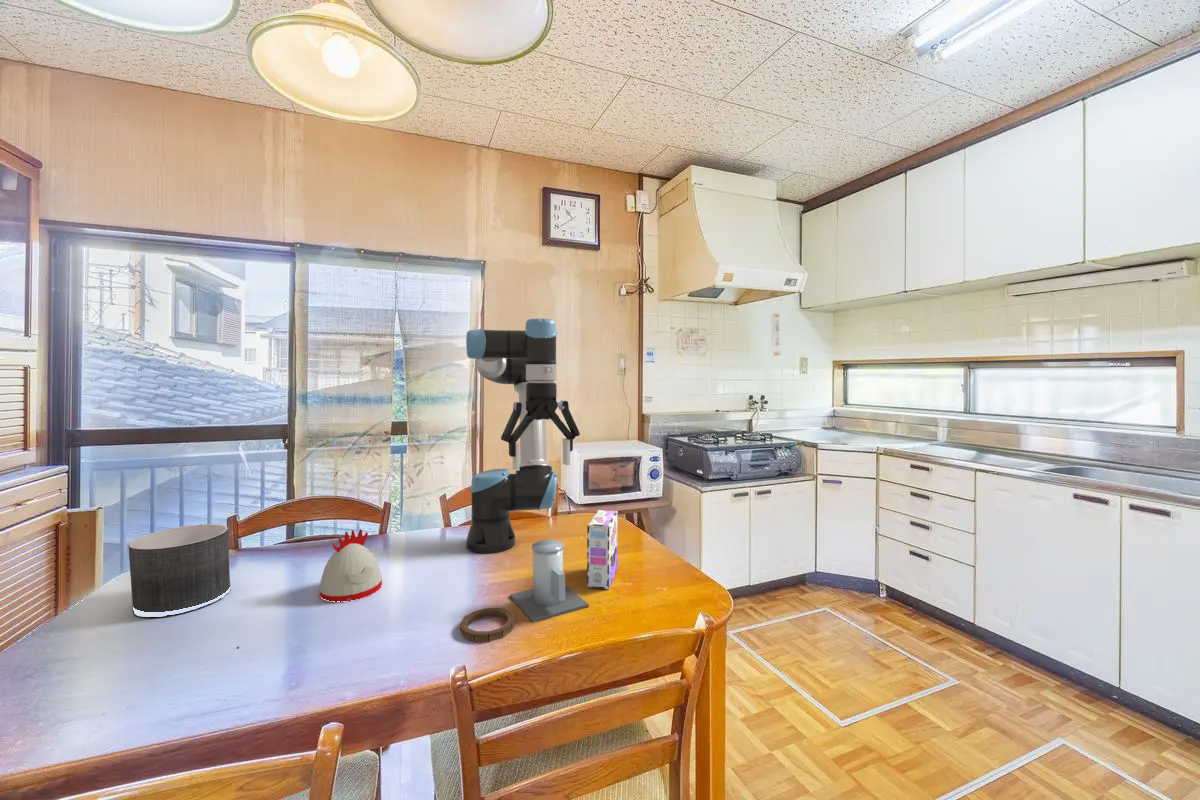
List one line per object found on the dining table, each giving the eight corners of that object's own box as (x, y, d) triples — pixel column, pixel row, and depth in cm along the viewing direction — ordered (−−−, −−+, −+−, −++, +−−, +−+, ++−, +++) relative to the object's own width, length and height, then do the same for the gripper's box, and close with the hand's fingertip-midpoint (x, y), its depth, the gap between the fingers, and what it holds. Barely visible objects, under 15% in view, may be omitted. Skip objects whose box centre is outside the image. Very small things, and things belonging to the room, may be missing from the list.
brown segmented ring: (455, 622, 105) (455, 615, 105) (503, 609, 111) (503, 603, 110) (468, 647, 96) (468, 640, 95) (521, 632, 101) (521, 625, 101)
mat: (510, 596, 117) (510, 594, 117) (562, 583, 124) (562, 581, 124) (532, 622, 105) (532, 619, 105) (588, 606, 112) (588, 604, 112)
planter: (246, 591, 120) (243, 529, 119) (156, 626, 104) (152, 554, 103) (206, 579, 127) (203, 520, 126) (116, 609, 111) (112, 542, 110)
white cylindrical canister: (528, 596, 116) (527, 543, 115) (555, 589, 120) (555, 537, 119) (547, 616, 106) (546, 559, 105) (577, 608, 110) (576, 552, 109)
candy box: (609, 590, 121) (609, 525, 120) (586, 588, 122) (586, 524, 121) (618, 568, 134) (618, 510, 133) (597, 566, 135) (597, 508, 134)
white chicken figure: (391, 589, 121) (389, 530, 121) (331, 608, 111) (329, 545, 111) (368, 573, 131) (367, 519, 130) (311, 590, 121) (309, 531, 120)
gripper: (497, 382, 110) (498, 475, 111) (592, 381, 122) (592, 464, 124) (487, 382, 116) (488, 469, 118) (578, 381, 129) (579, 459, 130)
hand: (541, 467), depth 121 cm, fingers open, 13 cm apart
